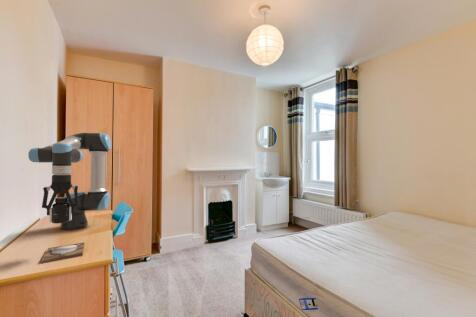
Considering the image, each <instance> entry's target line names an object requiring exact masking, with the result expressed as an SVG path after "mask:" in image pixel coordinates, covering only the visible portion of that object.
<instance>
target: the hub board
mask: <svg viewBox="0 0 476 317" xmlns="http://www.w3.org/2000/svg"><path fill="white" fill-rule="evenodd" d="M84 249H85V242H78V243H77V242H76V243H73V244H72V243H71V244H66V245H60V246H54V247H48V248H47V249H46V251H45V253H44V255H43V257H42V259H41V261H40V262H41V264H44V263H49V262H56V261H62V260H66V259H71V258H76V257H82V256H83V253H84Z"/></svg>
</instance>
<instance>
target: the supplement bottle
mask: <svg viewBox="0 0 476 317" xmlns="http://www.w3.org/2000/svg"><path fill="white" fill-rule="evenodd" d="M67 199H68V198H67V197H64V196H60V197H56V198H55V200H54V203H53V204H52V206H51V208H52V222H51V223H52V224H61V223H65V222H68V221H69V207H70V204H69V203H68V202H67V201H68V200H67Z"/></svg>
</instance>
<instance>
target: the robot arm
mask: <svg viewBox="0 0 476 317" xmlns="http://www.w3.org/2000/svg"><path fill="white" fill-rule="evenodd" d="M111 149H112V141H111V137H110V136H109V135H108V133H103V132H100V133H99V132H80V133H75V134H71V135H68V136H66V137H65V138H64V139H63V140H60V141H57V142H54V143H52V144H49V145H47V146H45V147H33V148H30V149H29V151H28V159H29V161H30V162H32V163H39V164H41V163H52V164H51V174H52V175H51V184H50V185H49V186H45V187H43V188H42V190H43V199H42V203H41V208H42V209H46V215H47V216H48V217H49V223H50V224H51V223H52V206H53V204H54V203H55V198H57V196H58V195H59V194H65V195H64V196H63V197H67V198H68V199H67V200H68V201H67V202H68V203H69V204H70V207H69V221H68V222H65V223H60V228H59V229H60V230H66V231H69V230H77V229H81V228H84V227H87V226H89V220H88V219H87V216H86V211H103V210H106V209H107V208H108V206H109V204H110V201H111V193H109V192H108V190H107V189H106V188H105V186H106V155H107V154H108V153H109V151H110V150H111ZM81 150H88V153H89V154H90V155H91V156H90V157H91V158H90V186H89V189H88V191H87V193H86V191H78V190H79V185H74V184H72V175H71V174H72V163H73V164H77V163H79V162H81V161H82V160H83V157H84V153H83V152H82V151H81ZM70 189H72V190H73V192H71V193H70ZM51 190H52V191H53V193H52V195H51V198H50V200H49V202H48V197H49V191H51Z"/></svg>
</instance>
